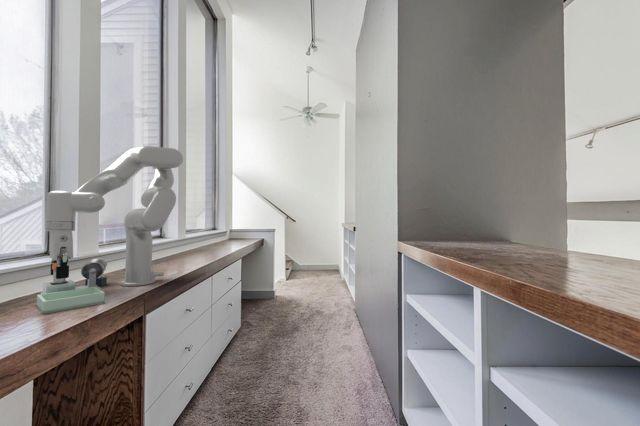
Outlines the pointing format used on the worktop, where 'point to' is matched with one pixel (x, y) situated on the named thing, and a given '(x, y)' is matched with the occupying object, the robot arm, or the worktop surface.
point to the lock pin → (55, 281)
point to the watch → (101, 280)
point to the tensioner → (88, 271)
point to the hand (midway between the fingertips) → (59, 276)
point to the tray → (69, 299)
